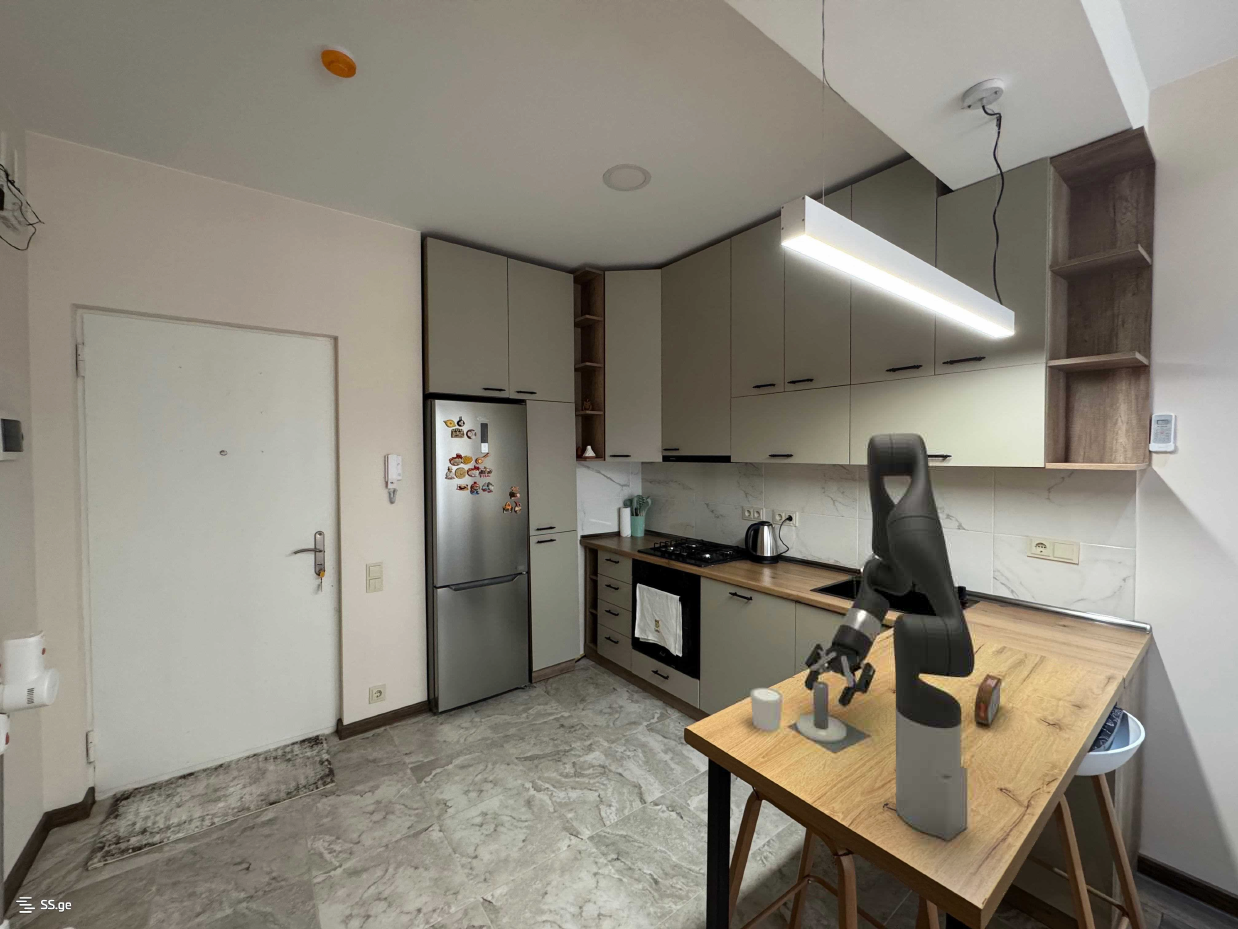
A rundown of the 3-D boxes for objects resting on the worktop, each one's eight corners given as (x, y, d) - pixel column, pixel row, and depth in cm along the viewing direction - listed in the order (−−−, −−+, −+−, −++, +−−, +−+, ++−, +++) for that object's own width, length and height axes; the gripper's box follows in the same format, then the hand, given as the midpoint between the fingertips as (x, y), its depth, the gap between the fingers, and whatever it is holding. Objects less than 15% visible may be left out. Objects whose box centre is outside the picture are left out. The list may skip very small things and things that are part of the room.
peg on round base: (856, 734, 108) (856, 687, 108) (825, 748, 103) (825, 700, 102) (816, 713, 116) (816, 670, 116) (786, 726, 111) (786, 681, 111)
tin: (986, 702, 121) (986, 667, 121) (1003, 707, 119) (1003, 671, 119) (972, 727, 111) (972, 689, 110) (990, 732, 108) (990, 693, 108)
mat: (871, 737, 107) (871, 735, 107) (834, 755, 101) (834, 753, 101) (822, 712, 117) (822, 711, 117) (786, 727, 111) (786, 726, 111)
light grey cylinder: (761, 736, 108) (760, 703, 108) (744, 720, 115) (744, 689, 115) (789, 731, 110) (789, 699, 110) (771, 715, 116) (771, 685, 116)
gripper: (822, 616, 120) (789, 675, 115) (879, 634, 108) (845, 701, 102) (836, 633, 123) (805, 692, 117) (894, 653, 111) (862, 719, 105)
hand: (824, 696), depth 110 cm, fingers open, 8 cm apart
